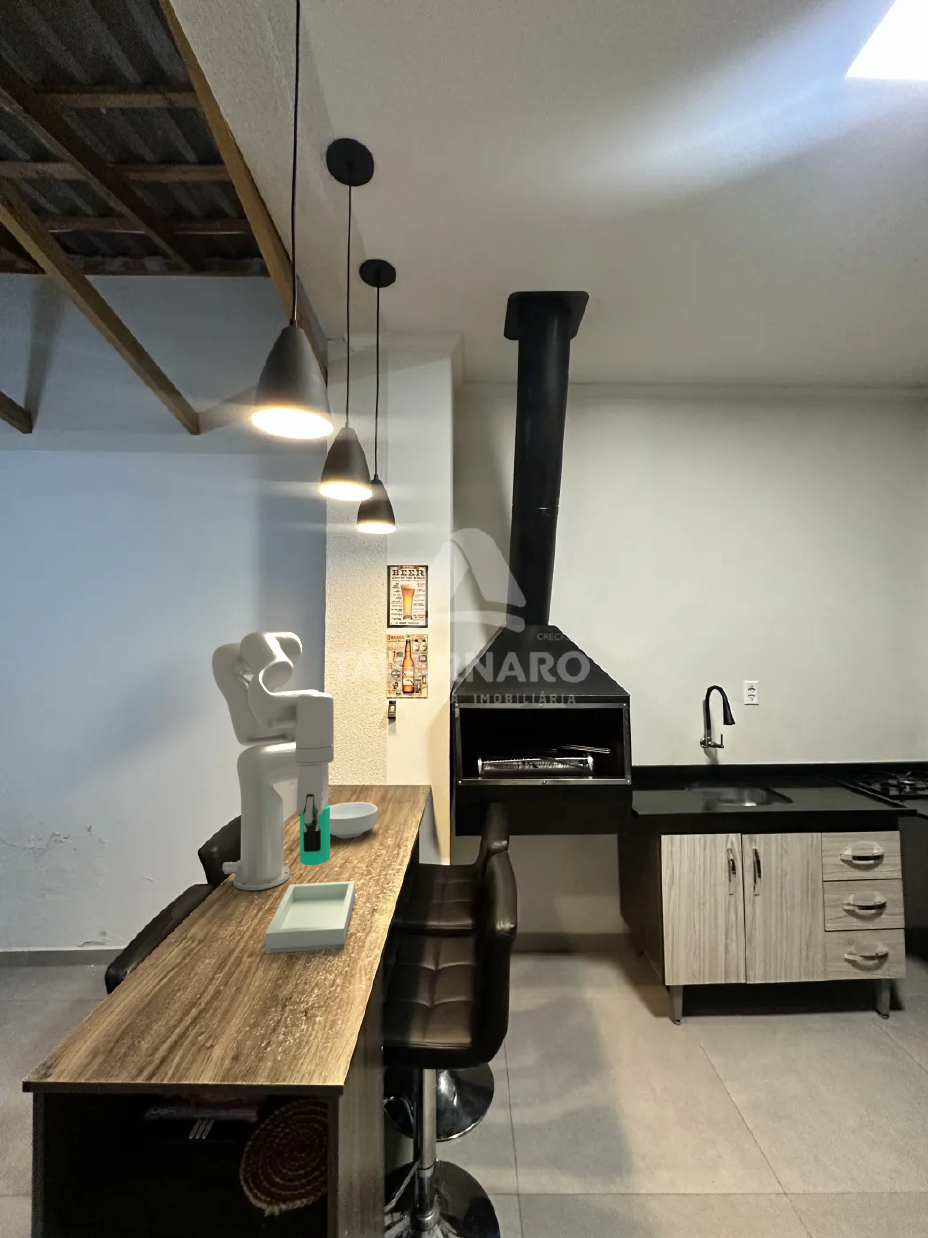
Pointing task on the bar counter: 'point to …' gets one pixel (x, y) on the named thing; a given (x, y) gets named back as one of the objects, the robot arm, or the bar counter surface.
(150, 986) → the bar counter surface
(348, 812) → the cereal bowl
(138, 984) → the bar counter surface
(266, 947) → the tray
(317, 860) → the candle
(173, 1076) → the bar counter surface
